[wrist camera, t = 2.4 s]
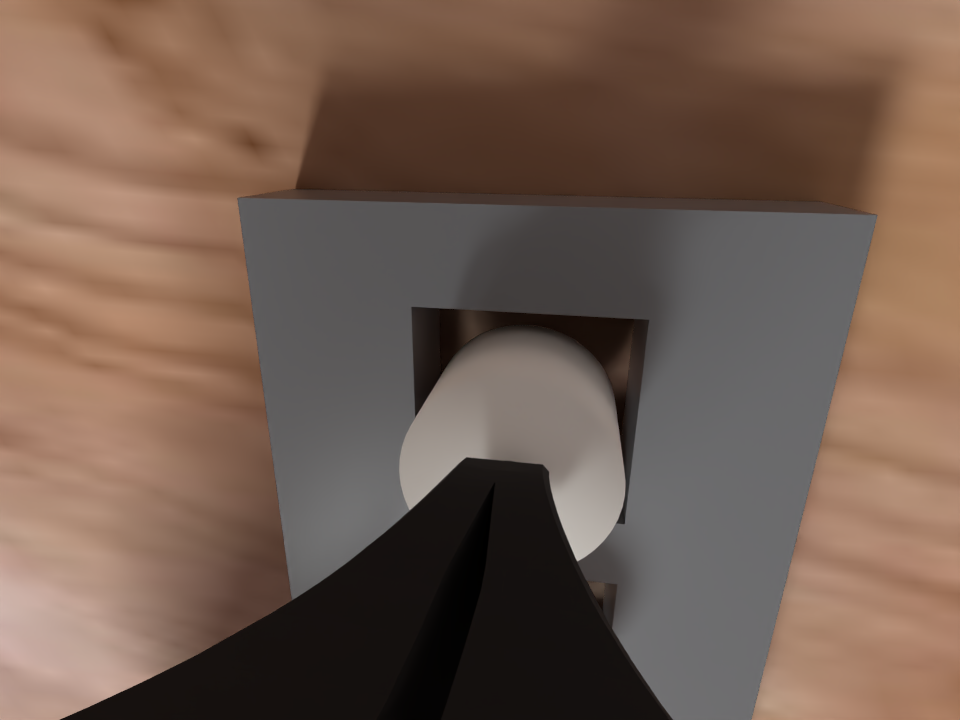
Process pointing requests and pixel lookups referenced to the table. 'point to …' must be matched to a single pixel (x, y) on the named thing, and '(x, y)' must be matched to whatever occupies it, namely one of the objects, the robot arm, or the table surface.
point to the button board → (649, 396)
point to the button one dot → (525, 425)
